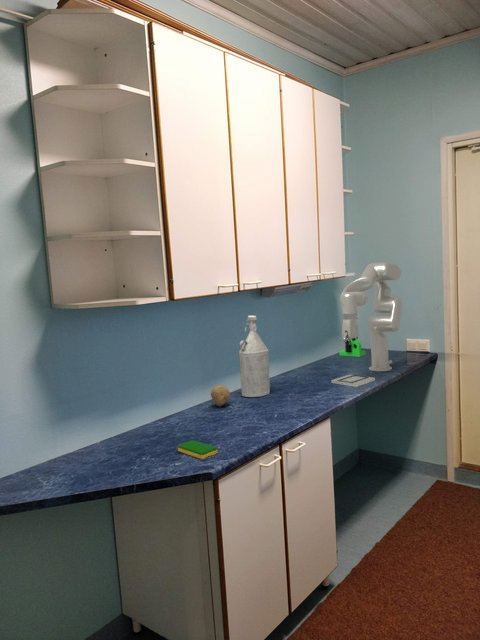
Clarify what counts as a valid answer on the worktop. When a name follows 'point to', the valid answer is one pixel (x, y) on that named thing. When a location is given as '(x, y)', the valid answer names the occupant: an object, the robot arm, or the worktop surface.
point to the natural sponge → (220, 395)
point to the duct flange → (353, 380)
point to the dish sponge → (197, 449)
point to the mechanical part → (353, 350)
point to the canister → (254, 364)
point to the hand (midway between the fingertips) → (351, 350)
